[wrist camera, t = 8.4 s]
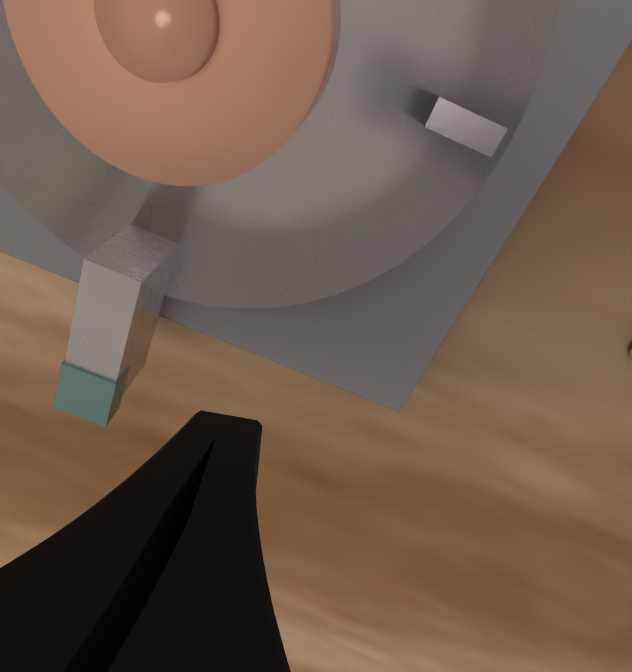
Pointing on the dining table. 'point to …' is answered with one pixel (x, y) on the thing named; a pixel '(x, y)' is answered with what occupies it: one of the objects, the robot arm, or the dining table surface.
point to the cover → (178, 78)
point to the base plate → (420, 268)
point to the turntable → (280, 181)
